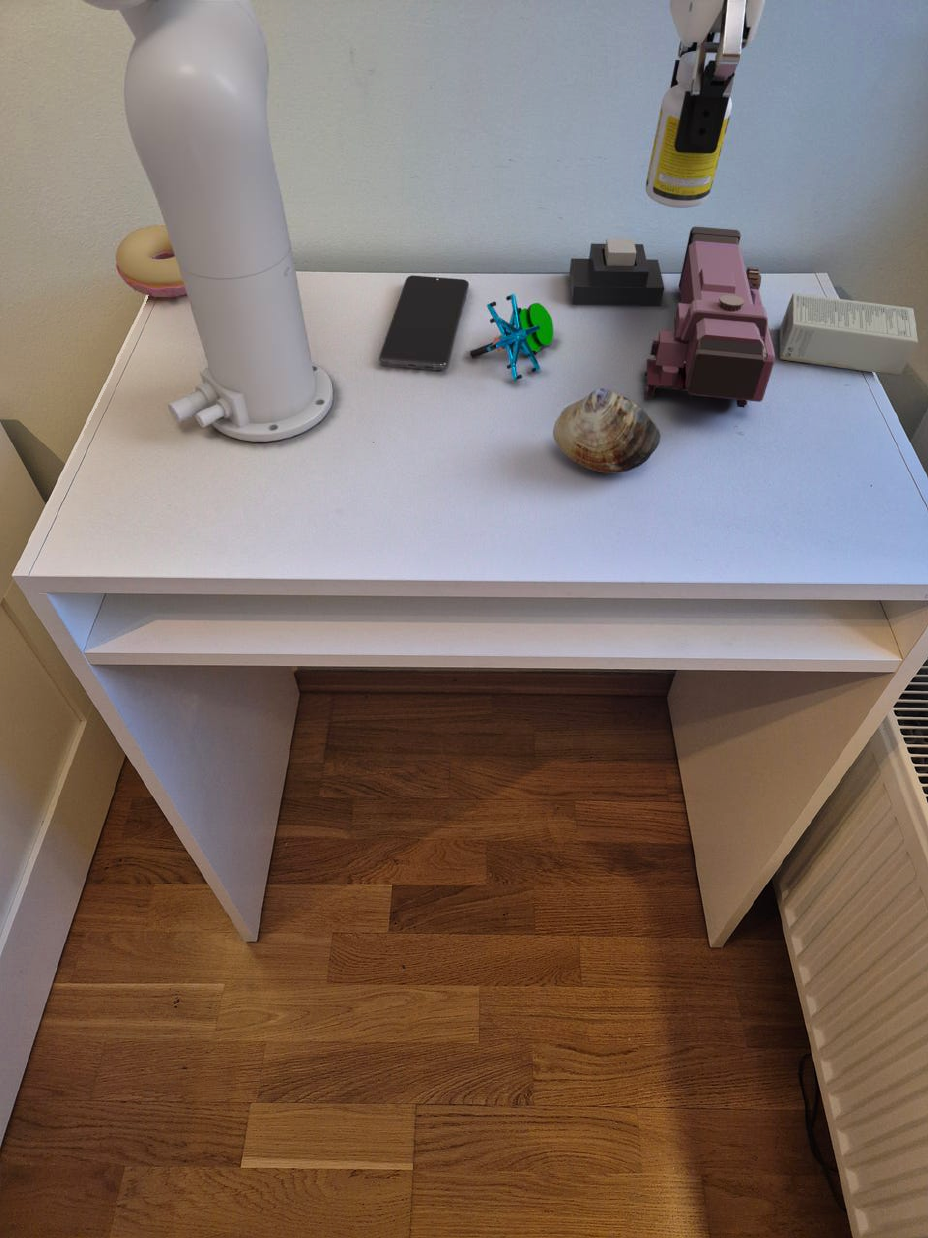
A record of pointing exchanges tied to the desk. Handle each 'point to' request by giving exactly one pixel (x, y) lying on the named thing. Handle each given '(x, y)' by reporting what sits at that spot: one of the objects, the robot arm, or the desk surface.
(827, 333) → the cosmetic box
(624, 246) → the key back
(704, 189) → the supplement bottle
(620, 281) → the dark gray block frame
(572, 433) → the seashell
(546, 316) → the stick construction toy
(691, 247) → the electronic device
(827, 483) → the desk surface
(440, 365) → the smartphone
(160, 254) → the doughnut
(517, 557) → the desk surface
